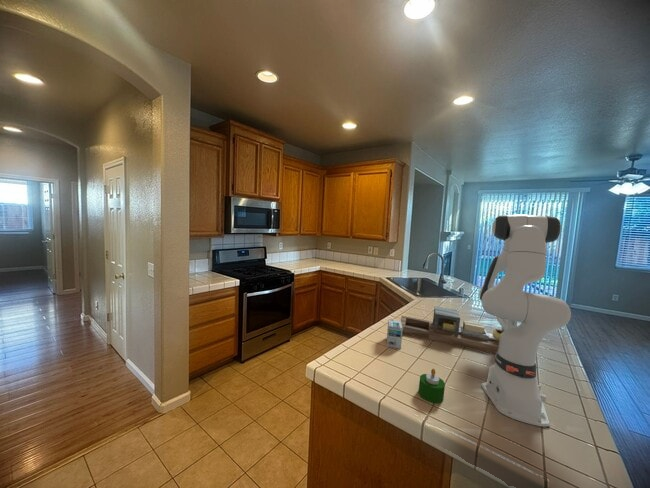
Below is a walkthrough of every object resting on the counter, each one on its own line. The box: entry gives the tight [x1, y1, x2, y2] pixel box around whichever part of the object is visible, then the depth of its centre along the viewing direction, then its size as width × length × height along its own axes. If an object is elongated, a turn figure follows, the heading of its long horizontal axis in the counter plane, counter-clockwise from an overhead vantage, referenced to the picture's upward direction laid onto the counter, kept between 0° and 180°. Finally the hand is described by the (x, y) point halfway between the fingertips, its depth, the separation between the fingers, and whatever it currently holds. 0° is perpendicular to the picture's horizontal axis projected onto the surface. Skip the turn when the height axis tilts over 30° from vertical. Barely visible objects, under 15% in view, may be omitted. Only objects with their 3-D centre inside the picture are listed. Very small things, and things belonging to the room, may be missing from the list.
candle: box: [417, 368, 446, 404], centre depth 91 cm, size 8×8×10 cm
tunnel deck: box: [400, 306, 499, 355], centre depth 142 cm, size 18×54×14 cm, turn 69°
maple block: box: [462, 320, 485, 334], centre depth 138 cm, size 6×9×6 cm, turn 69°
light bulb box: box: [386, 318, 403, 350], centre depth 129 cm, size 11×7×11 cm, turn 169°
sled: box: [441, 319, 502, 341], centre depth 138 cm, size 9×32×4 cm, turn 69°
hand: (504, 336), depth 133 cm, fingers closed, pressing on sled
